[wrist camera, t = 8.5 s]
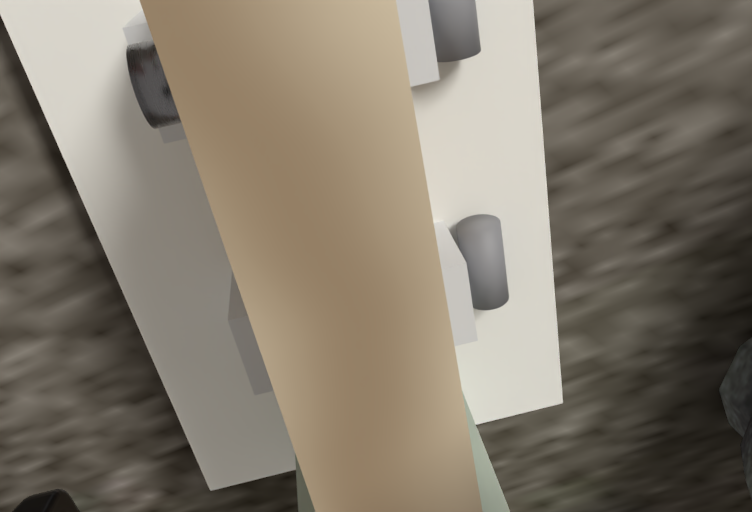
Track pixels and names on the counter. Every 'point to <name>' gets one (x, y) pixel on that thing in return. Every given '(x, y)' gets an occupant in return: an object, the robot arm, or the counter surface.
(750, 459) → the mortar and pestle
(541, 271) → the hinge base
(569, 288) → the counter surface
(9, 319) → the counter surface
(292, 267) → the door panel
